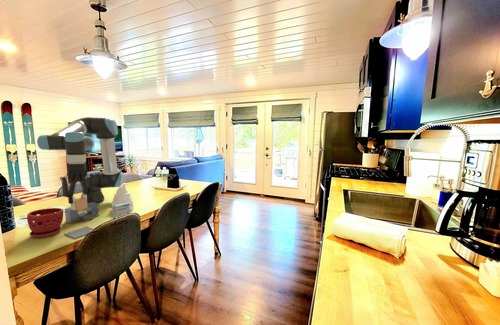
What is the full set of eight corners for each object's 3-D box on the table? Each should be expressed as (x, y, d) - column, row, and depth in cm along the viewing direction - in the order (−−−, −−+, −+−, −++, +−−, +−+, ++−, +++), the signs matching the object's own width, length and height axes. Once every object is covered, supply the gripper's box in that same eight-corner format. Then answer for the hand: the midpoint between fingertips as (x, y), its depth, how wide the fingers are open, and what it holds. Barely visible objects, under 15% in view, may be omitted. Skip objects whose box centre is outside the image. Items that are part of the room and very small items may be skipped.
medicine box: (116, 220, 126) (116, 206, 125) (113, 219, 128) (112, 205, 127) (130, 216, 133) (129, 203, 132) (126, 215, 135) (125, 202, 134)
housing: (94, 214, 135) (93, 202, 134) (98, 215, 133) (98, 203, 132) (65, 222, 122) (64, 208, 121) (70, 223, 120) (69, 210, 119)
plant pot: (50, 239, 101) (48, 215, 100) (20, 239, 100) (18, 215, 99) (70, 228, 114) (69, 206, 113) (45, 228, 113) (43, 206, 112)
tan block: (82, 206, 110) (82, 197, 110) (87, 208, 108) (86, 198, 108) (72, 209, 106) (71, 199, 106) (77, 210, 104) (76, 200, 104)
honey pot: (127, 205, 154) (126, 181, 152) (137, 208, 148) (136, 183, 146) (108, 210, 143) (106, 184, 141) (118, 214, 137) (116, 187, 135)
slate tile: (86, 227, 116) (86, 226, 116) (97, 231, 111) (97, 230, 111) (64, 234, 107) (64, 233, 107) (75, 239, 102) (75, 237, 102)
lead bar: (83, 216, 131) (83, 212, 131) (92, 220, 127) (91, 215, 126) (76, 218, 128) (75, 214, 128) (84, 222, 123) (84, 217, 123)
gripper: (91, 161, 114) (93, 202, 117) (50, 164, 99) (54, 212, 101) (99, 162, 111) (102, 204, 114) (58, 165, 95) (62, 214, 98)
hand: (79, 208), depth 107 cm, fingers closed on tan block, 4 cm apart
